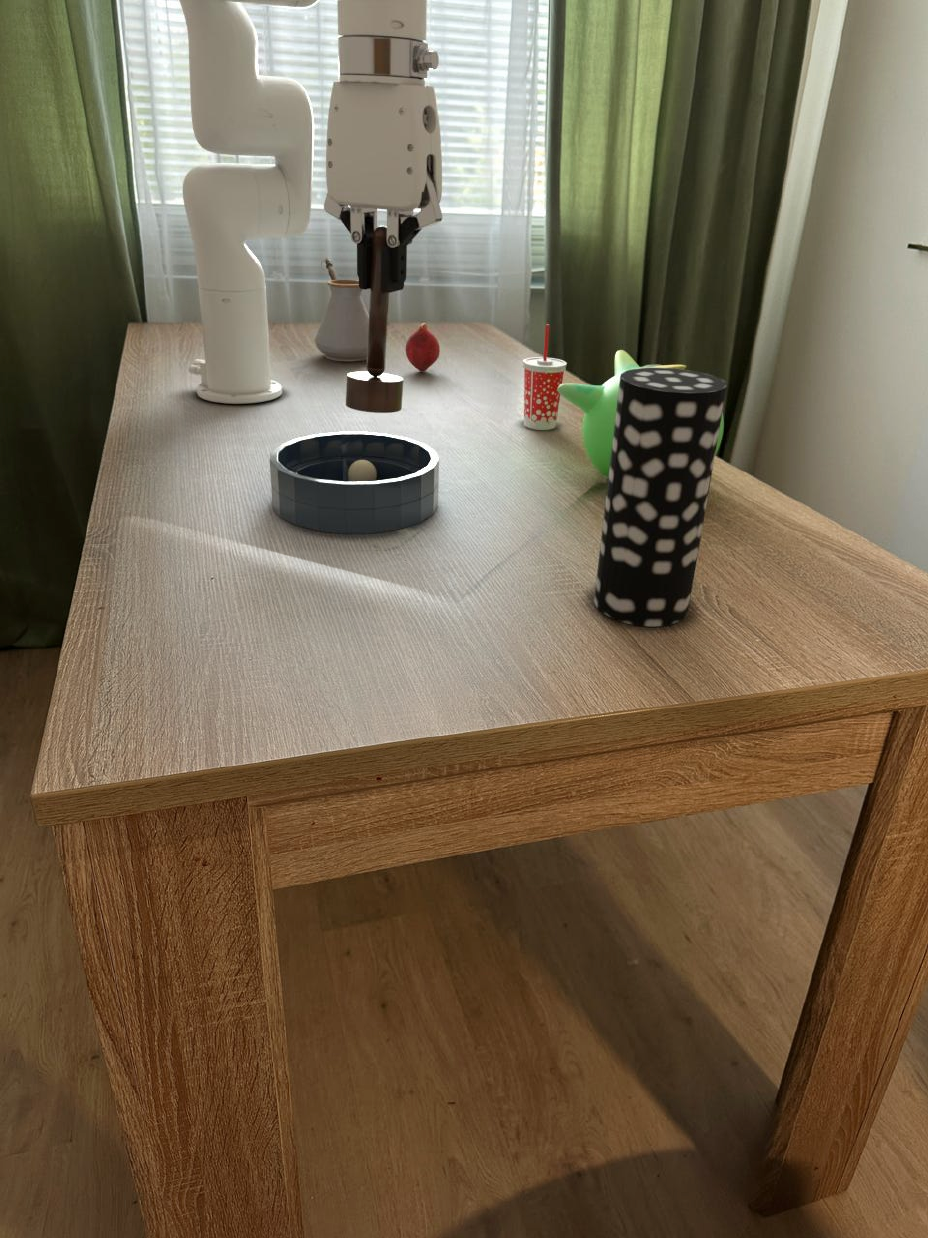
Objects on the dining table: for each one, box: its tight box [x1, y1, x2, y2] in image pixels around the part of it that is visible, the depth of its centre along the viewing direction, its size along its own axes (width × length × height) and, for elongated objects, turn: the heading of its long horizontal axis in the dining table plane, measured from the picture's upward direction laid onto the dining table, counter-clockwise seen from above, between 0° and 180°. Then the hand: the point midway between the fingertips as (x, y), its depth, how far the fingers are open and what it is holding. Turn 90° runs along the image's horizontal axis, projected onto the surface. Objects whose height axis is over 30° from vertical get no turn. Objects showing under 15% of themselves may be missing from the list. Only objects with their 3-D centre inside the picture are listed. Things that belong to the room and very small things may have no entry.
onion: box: [405, 322, 441, 373], centre depth 157 cm, size 6×6×8 cm
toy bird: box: [558, 349, 725, 479], centre depth 108 cm, size 18×17×15 cm
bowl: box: [269, 431, 440, 535], centre depth 99 cm, size 18×18×6 cm
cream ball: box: [348, 460, 377, 482], centre depth 103 cm, size 3×3×3 cm
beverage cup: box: [522, 323, 568, 431], centre depth 129 cm, size 6×6×14 cm
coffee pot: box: [314, 258, 369, 362], centre depth 167 cm, size 21×12×15 cm, turn 20°
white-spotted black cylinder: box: [593, 368, 728, 627], centre depth 77 cm, size 8×8×20 cm
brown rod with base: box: [345, 225, 404, 414], centre depth 89 cm, size 6×6×17 cm
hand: (381, 287), depth 88 cm, fingers closed on brown rod with base
